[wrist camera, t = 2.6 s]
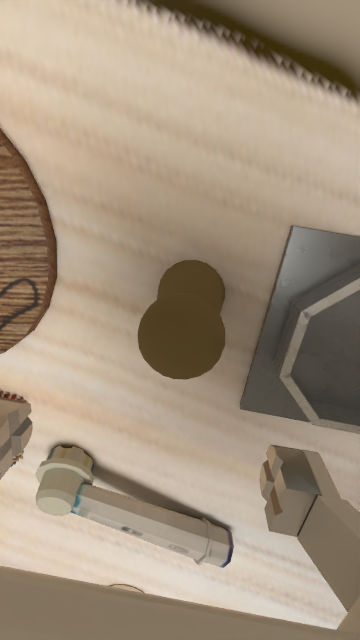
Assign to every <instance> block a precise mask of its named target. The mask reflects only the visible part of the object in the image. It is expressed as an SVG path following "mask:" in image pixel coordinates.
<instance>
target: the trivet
mask: <svg viewBox="0 0 360 640" xmlns="http://www.w3.org/2000/svg"><path fill="white" fill-rule="evenodd" d="M56 278H57V248H56V238H55V234H54V230H53V226H52V222H51V218H50V214H49V211H48V207H47V203H46V200H45V198H44V196H43V194H42V192H41V190H40V188H39V186H38V184H37V182H36V180H35V178H34V176H33V174H32V172H31V170H30V168H29V166H28V164H27V162H26V161H25V159H24V158H23V157H22V156H21V154H20V153H19V152H18V150H17V149H16V148H15V147H14V145H13V144H12V143H11V142H10V140H9V139H8V138H7V137H6V135H5V134H4V133H3V132H2V130H1V129H0V354H1V353H4V352H6V351H7V350H9V349H10V348H11V347H13V346H14V345H16V344H17V343H18V342H19V341H21V340H22V339H23V338H24V337H26V336H27V335H28V334H30V333H31V332H32V331H33V330H35V328H36V326H37V325H38V323H39V322H40V320H41V319H42V317H43V315H44V314H45V312H46V311H47V309H48V308H49V305H50V301H51V298H52V294H53V290H54V286H55V282H56Z"/></svg>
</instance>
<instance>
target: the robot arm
mask: <svg viewBox="0 0 360 640" xmlns="http://www.w3.org/2000/svg"><path fill="white" fill-rule="evenodd" d="M30 413H31V404H30V403H28V402H24V401H20V400H15V399H10V398H5V397H0V479H1V478H2V477H3V476H4V474H5V473H6V472H7V470H8V469H9V468H10V466H11V465H12V464H13V456H14V455H16V454H18V453H20V452H22V451H23V449H24V448H25V447H26V445H27V444H28V442H29V439H30V437H31V434H32V421H31V420H30V419H29V418H28V415H29V414H30ZM266 454H267V458H268V460H267V461H266V462H264V463H263V465H262V468H261V472H260V488H261V493H262V496H263V497H264V498H265V499H266V501H267V503H266V506H265V513H266V518H267V523H268V528H269V531H272V532H276V533H281V534H286V535H290V536H295V537H298V538H297V539H298V540H299V542H300V543H301V545H302V546H303V548H304V549H305V551H306V552H307V554H308V555H309V556H310V558H311V559H312V561H313V562H314V564H315V565H316V567H317V568H318V570H319V571H320V572H321V574H322V575H323V577H324V578H325V580H326V581H327V583H328V584H329V586H330V587H331V588H332V590H333V591H334V593H335V594H336V596H337V597H338V599H339V600H340V602H341V603H342V605H343V606H344V607H345V609H346V610H347V612H348V613H347V615H346V616H345V617H344V619H343V620H342V622H341V623H340V625H339V626H338V628H337V630H333V629H328V628H323V627H318V626H312V625H307V624H302V623H297V622H291V621H286V620H281V619H276V618H271V617H265V616H260V615H255V614H250V613H244V612H239V611H234V610H229V609H224V608H218V607H213V606H208V605H203V604H198V603H192V602H187V601H182V600H177V599H172V598H166V597H161V596H156V595H151V594H146V593H140V592H135V591H130V590H125V589H120V588H114V587H109V586H104V585H99V584H93V583H88V582H83V581H78V580H72V579H67V578H62V577H57V576H51V575H46V574H41V573H36V572H30V571H25V570H20V569H15V568H10V567H4V566H0V640H360V513H359V512H358V511H357V510H356V509H355V508H354V507H353V506H352V505H351V504H350V503H349V502H348V501H346V500H341V497H340V495H339V493H338V491H337V489H336V487H335V485H334V483H333V481H332V479H331V477H330V475H329V473H328V470H327V468H326V466H325V464H324V462H323V460H322V458H321V456H320V455H319V454H318V453H317V452H313V451H306V450H299V449H293V448H287V447H281V446H275V445H270V446H269V448H268V450H267V453H266Z"/></svg>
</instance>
